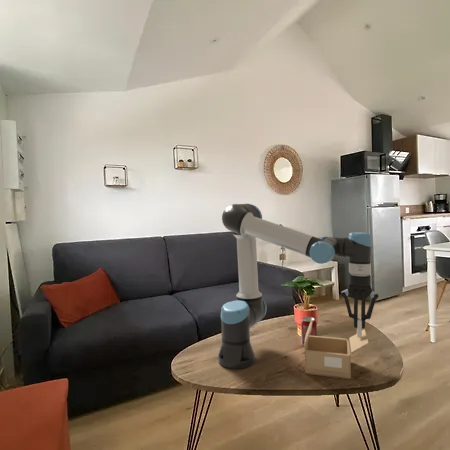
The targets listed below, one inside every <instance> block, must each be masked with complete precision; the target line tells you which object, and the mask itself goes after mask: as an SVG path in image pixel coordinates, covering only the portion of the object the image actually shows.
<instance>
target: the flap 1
mask: <svg viewBox="0 0 450 450" xmlns="http://www.w3.org/2000/svg"><path fill="white" fill-rule="evenodd" d="M312 321H313V320H312V319H311V322H310V325H309V327H308V330H307V333H306V336H305V342H304V345H303V348H304V349H305V346H306V344H307V341H308V338H309V336H310V333H311V328H312Z"/></svg>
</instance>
